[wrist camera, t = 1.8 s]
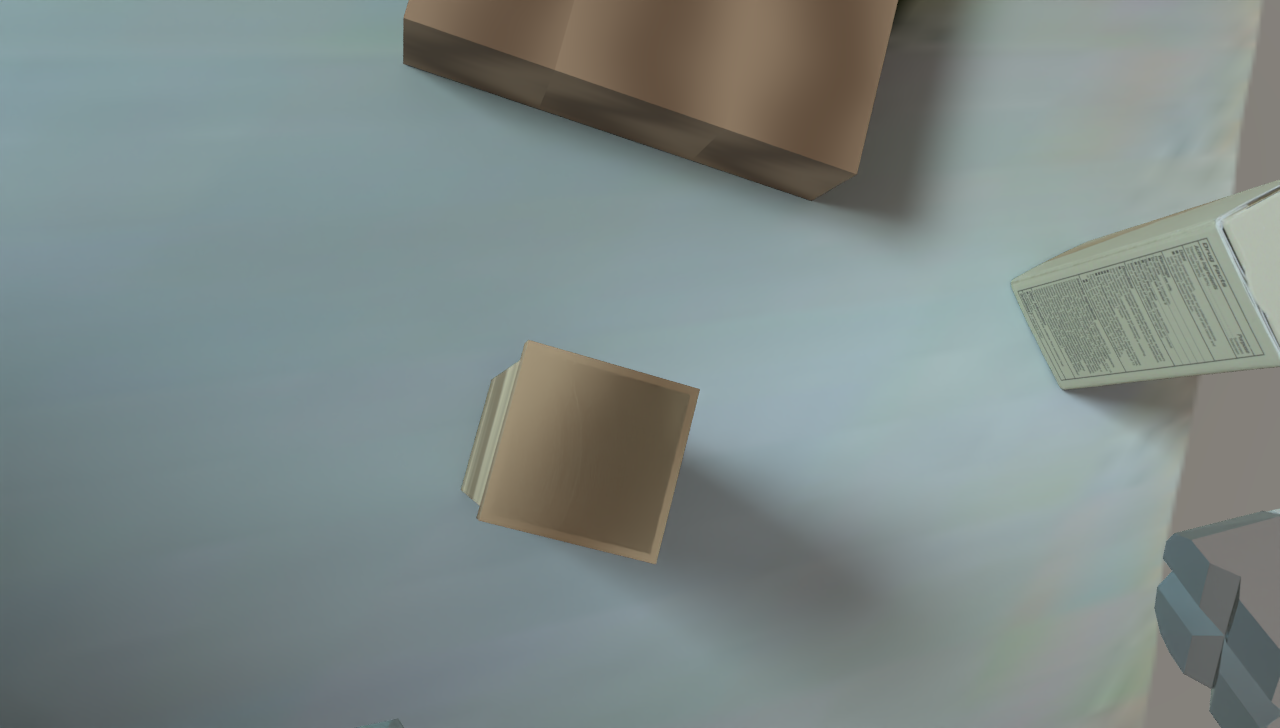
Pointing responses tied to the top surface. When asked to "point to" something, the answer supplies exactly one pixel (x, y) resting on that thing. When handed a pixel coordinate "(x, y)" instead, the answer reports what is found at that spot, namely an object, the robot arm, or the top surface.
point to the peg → (580, 451)
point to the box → (1163, 296)
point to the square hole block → (680, 74)
